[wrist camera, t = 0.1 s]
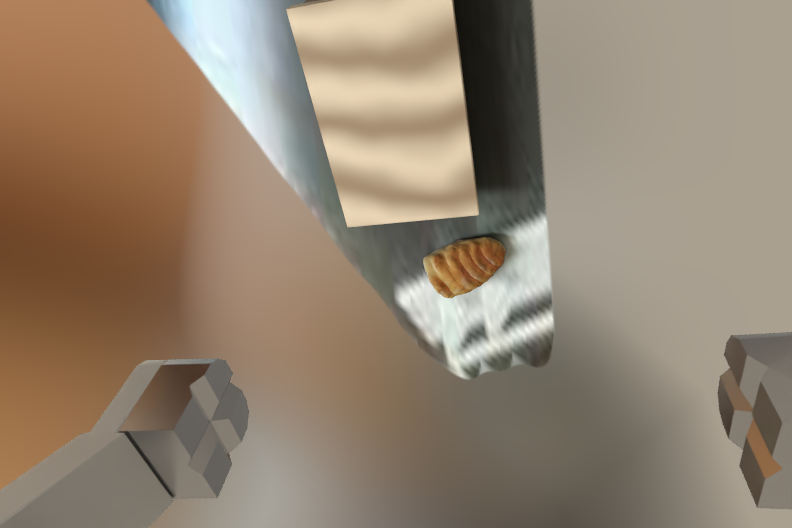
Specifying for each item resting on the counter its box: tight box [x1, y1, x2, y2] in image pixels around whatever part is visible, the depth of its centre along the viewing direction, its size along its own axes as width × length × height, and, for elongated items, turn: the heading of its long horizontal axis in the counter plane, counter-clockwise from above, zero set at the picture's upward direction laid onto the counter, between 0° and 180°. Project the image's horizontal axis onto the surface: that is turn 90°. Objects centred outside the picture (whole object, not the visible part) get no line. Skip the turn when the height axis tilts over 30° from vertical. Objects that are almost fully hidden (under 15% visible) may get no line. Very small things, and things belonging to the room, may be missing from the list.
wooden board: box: [286, 0, 479, 227], centre depth 54 cm, size 22×14×5 cm, turn 11°
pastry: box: [423, 237, 506, 298], centre depth 65 cm, size 9×7×4 cm
